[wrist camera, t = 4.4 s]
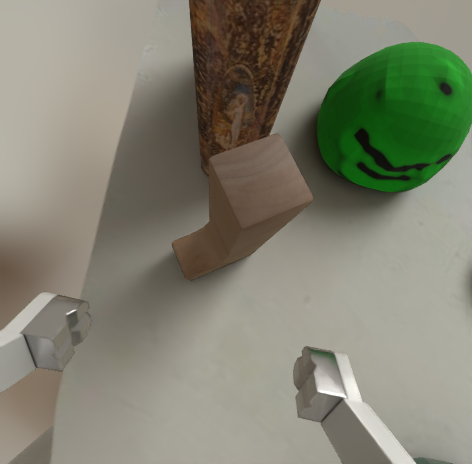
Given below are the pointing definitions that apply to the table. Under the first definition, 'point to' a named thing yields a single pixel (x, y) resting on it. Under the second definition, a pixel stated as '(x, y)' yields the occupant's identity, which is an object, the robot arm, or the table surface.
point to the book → (243, 66)
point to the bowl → (429, 461)
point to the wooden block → (244, 205)
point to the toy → (396, 116)
